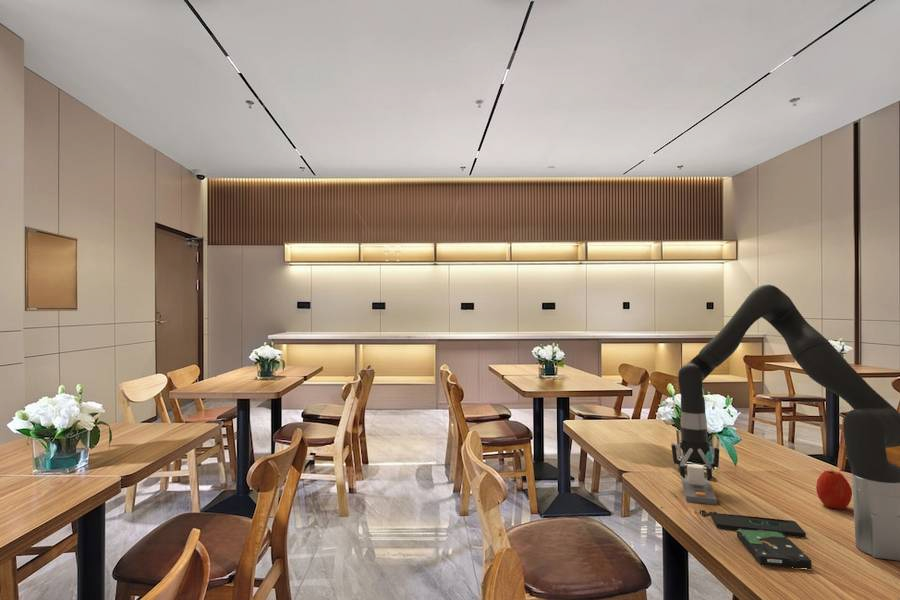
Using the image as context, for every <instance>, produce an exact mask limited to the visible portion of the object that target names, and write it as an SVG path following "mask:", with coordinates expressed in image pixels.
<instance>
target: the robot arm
mask: <svg viewBox="0 0 900 600" xmlns="http://www.w3.org/2000/svg"><path fill="white" fill-rule="evenodd" d="M761 318H763V319H764V320H765V321H766V322H767V323H769V324H770V325H771V326H772V327H773V328H774V329H775V330H776V331H777V332H778V333H779V334H780V336H781V337H782V338H783V339H784V341H785V344H786V346H787V348H788V349H789V352H790V354H791V356H792V358H793V359H794V361H796V363H797V364H798V365H799V366H800V368H801V369H802V371H804V372H805V374H806V375H807V376H808V377H809V378H810V379H811V380H812V381H814V382H815V383H817V384H818V385H820V386H821V387H823V388H825V389H827V390H828V391H830V392H831V393H833V394H835V395H836V396H838V397H840V398H841V399H842V400H844V402H846V403H847V404H849V406H850V407H851V408H852V409H851V410H850V411H848V412H847V413H846V414H845V416H844V418H843V423H842V427H843V428H842V429H843V440H844V446H845V447H844V448H845V456H846V458H847V461H848V464H849V466H850V470H851V482H852V483H851V485H852V486H851V487H852V488H851V489H852V501H853V519H854V534H855V536H854V539H855V546H856V548H857V549H859V550H860V551H862V552H864V553H866V554H868V555H871V556H872V557H873V558H876V559H884V560H892V561H899V562H900V466H899V465H897V464H895V463H892V462H891V461H889V460H888V455H887V449H889V448H897V447H900V412H899V411H898V410H897V409H896V408H895V407H894V406H893V405H891V403H889V402H888V401H887V400H886V399H885V398H883V396H881V394H879V393H878V392H877V391H876V390H875V389H874V388H873V387H871V385H870V384H868V383H867V381H866V380H865V379H864V378H863V377H862V376H861V375H860V374H859V373H858V372H857V371H856V370H855V368H853V367H852V366H851V364H850V363H849V362H848V361H847V360H846V359H845V357H843V355H842V354H841V353H840V352H839V351H838V350H837V348H835V347H834V345H833V344H832V343H831V342H830V341H829V340H828V339H827V338H826V337H824V335H822V334H821V333H820V332H819V331H818V330H817V329H816V328H814V327H813V326H812V325H811V324H810V323H808V321H807V320H806V319H805V318H804V317H803V315H802V313H800V311H799V310H798V308H797V307H796V305H795V304H794V302H793V300H792V299H791V298H790V296H788V295H787V294H786V293H785V292H784V291H782V290H781V289H780V288H779V287H777V286H775V285H773V284H761V285H760V286H758V287H756V288H755V289H753V290H752V291H751V292H750V294H749V295H748V296H747V297H746V298H745V300H744V301H743V302H742V304H741V305H740V306H739V307H738V309H737V310H736V312H735V313H734V314H733V316H732V317H731V318H730V319H729V320H728V321H727V323H726V324H725V325H724V326H723V328H722V329H721V330H720V331H719V332H718V333H717V334H716V335H715V336H714V337H713V338H712V339H711V340H710V341H708V342H707V343H706V344H705V345H704V347H703V348H702V349H700V351H699V352H698V353H697V355H696V356H694V357H693V358H692V359H690V361H688V362H687V363H686V364H684V365H682V367H680V369H679V370H678V375H677V380H678V387H679V394H680V422H679V423H680V435H681V436H680V437H681V438H680V439H681V442H680V443H679V444H676V443H671V444H670V447H671V453H672V461H673V463H674V464H675V465H678V466H679V474H680V477H681V476H682V477H683V478H685V476H686V467H685V466H686V465H685V464H686V462H687V461H688V460H689V458H690V459H697V460H701V459H702V460H703V462H704V463H705V465H706V467H705V471H706V472H705V475H706V477H705V478H707V480H708V481H709V482H710V480H712V479H713V469H715V468H719V460H720V449H719V446H710V445H709V440H708V439H709V438H708V423H707V422H708V420H707V414H706V400H705V397H704V394H703V393H704V392H703V391H704V390H703V389H704V388H703V382H704V380H705V379H706V378H708V377H709V375H710V374H711V373H712V372H713V371H714V370H715V369H716V368H717V367H719V366H721V365H722V364H723V363H725V361H726V360H727V359H729V358H730V357H731V356H732V355H733V354H734V353H735V351H737V349H738V348H739V346H740V345H741V342H742V340H743V339H744V337H745V335H746V334H747V332H748V330H749V329H750V328H751V327H752V325H754V323H755V322H757V321H758V320H760V319H761ZM679 449H681V451H682V452H683V454H682V456H681V458H680V459H678V455H677V454H678V453H677V452H679ZM709 451H710V452H711V454H712V455H713V457H712V458H713V459H712V462H710V460H709V459H708V457H707V454H708V453H709Z"/></svg>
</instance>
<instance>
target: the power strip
mask: <svg viewBox="0 0 900 600" xmlns="http://www.w3.org/2000/svg"><path fill="white" fill-rule="evenodd" d="M704 480H705V485H695V484H689V482H688V475H685V478H683V477H682V476H681V475H680V481H681V485H682V489H683V494H684V498H685V501H686V502H690V503H697V504H698V503H699V504H708V505H717V506H718V499H717V497H716V495H715V492H714V490H713V487H712V485H711V483H710V481H708V480H707V477H704ZM700 511H701V514H702V516H703V517H707V513H706V510H700Z"/></svg>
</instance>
